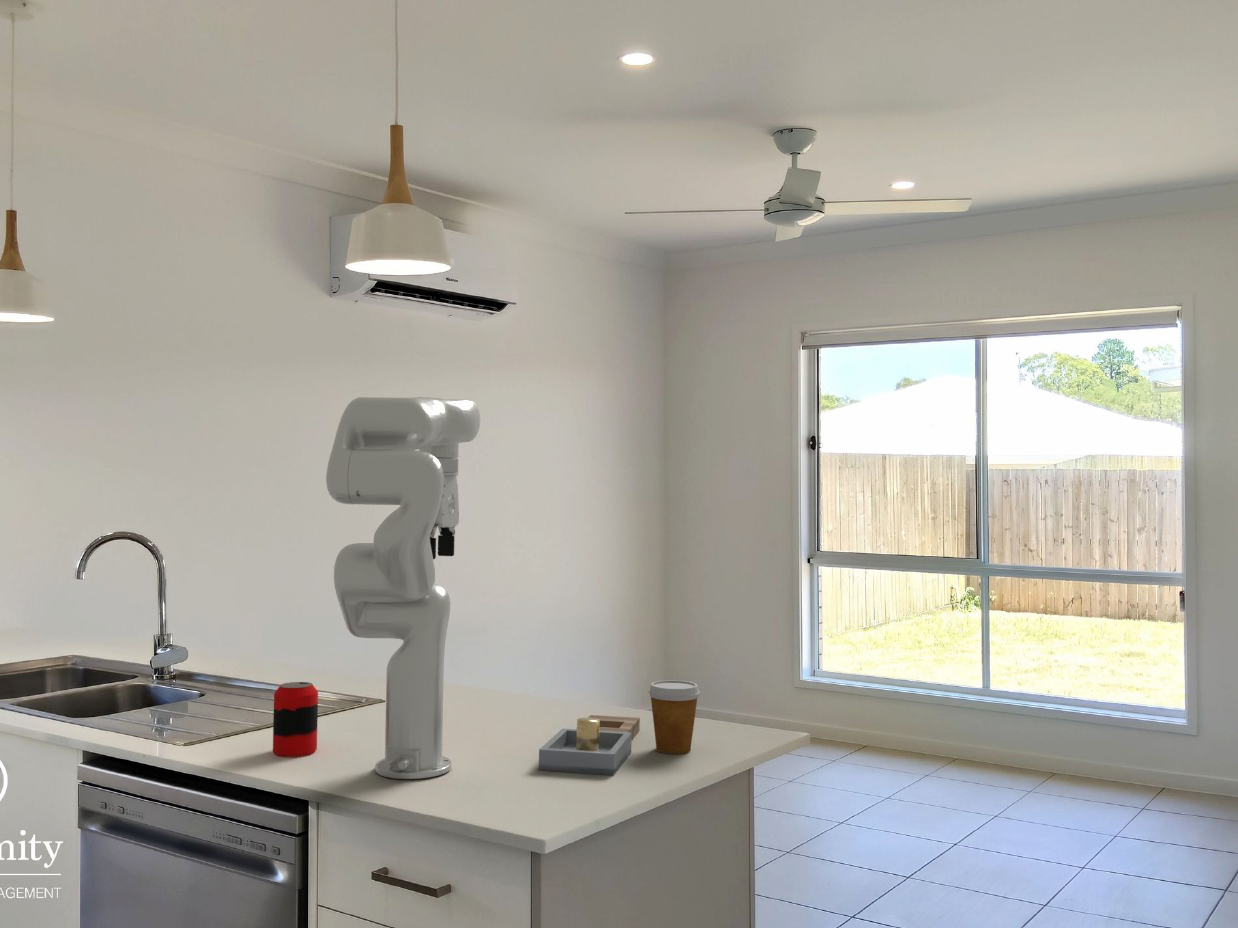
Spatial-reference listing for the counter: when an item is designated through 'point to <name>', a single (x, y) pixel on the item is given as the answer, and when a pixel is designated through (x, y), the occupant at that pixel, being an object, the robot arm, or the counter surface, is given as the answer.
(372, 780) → the counter surface
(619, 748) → the slate tray
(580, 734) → the pin
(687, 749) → the disposable coffee cup
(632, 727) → the block
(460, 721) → the counter surface
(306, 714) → the soda can
